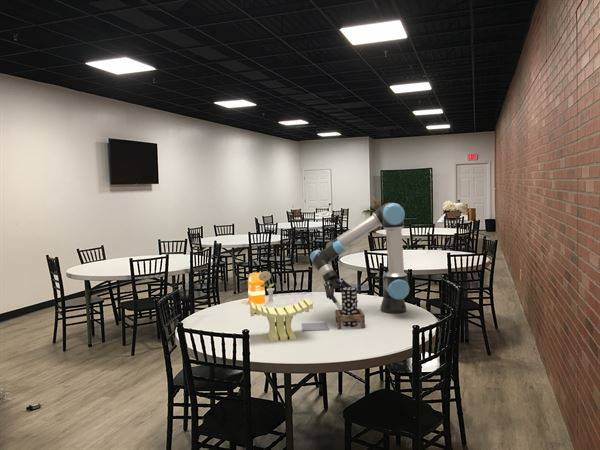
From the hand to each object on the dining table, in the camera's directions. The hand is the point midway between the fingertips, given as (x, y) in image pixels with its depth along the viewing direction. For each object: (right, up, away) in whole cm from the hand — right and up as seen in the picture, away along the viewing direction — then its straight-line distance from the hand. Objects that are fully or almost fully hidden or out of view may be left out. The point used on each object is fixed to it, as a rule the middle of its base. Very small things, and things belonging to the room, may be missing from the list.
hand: (348, 304), depth 277 cm
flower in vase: (-45, -10, +37) cm, 59 cm away
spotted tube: (+1, -11, +1) cm, 11 cm away
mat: (-18, -12, -1) cm, 22 cm away
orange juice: (-55, -8, +61) cm, 82 cm away
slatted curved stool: (-36, -14, -15) cm, 41 cm away
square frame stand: (+1, -11, +1) cm, 11 cm away
